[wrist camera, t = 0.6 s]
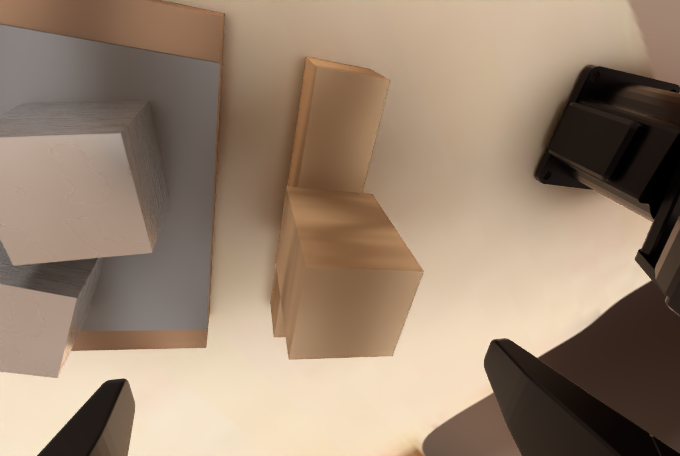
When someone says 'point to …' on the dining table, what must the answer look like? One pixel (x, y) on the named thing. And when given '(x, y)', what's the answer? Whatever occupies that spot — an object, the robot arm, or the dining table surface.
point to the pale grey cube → (80, 181)
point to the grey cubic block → (43, 312)
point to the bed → (172, 133)
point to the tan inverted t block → (339, 227)
